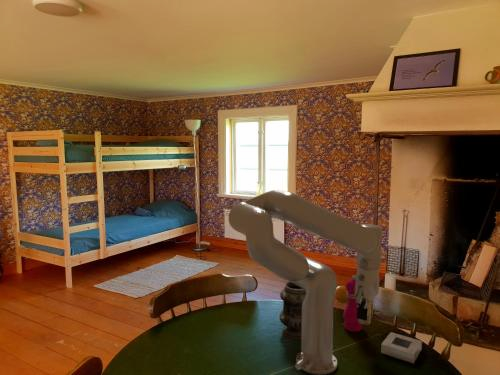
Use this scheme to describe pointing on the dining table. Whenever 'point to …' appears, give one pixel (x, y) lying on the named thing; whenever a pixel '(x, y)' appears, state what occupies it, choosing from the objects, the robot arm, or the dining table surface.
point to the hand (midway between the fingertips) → (364, 316)
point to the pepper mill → (351, 307)
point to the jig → (401, 347)
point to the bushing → (369, 306)
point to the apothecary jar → (292, 310)
